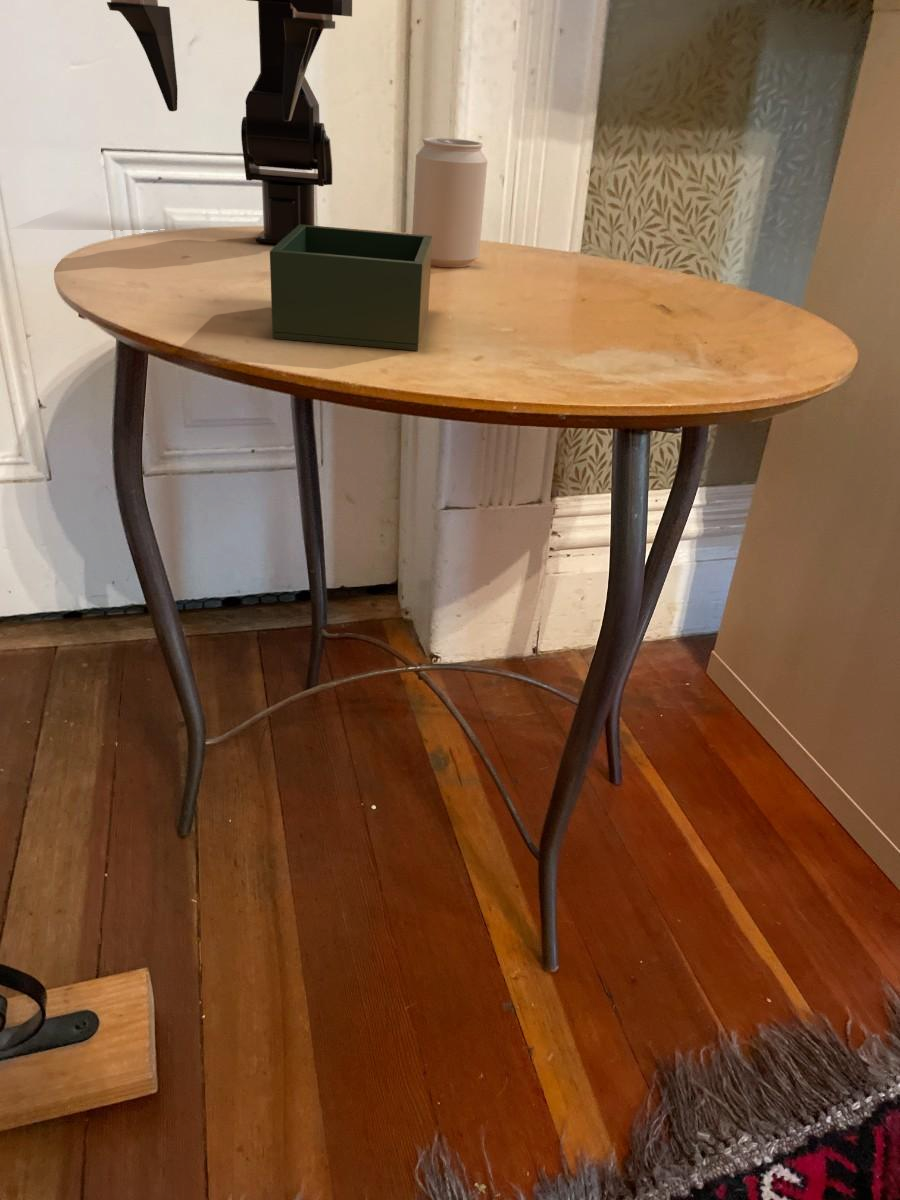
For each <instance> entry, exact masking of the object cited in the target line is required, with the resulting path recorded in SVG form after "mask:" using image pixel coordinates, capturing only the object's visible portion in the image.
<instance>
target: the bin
mask: <svg viewBox="0 0 900 1200" xmlns="http://www.w3.org/2000/svg"><path fill="white" fill-rule="evenodd" d="M432 237H433V236H428V235H416V234H412V233H404V232H393V231H392V232H391V231H382V230H381V231H380V230H368V229H359V228H358V229H357V228H345V227H333V226H323V225H315V226H312V225H300V224H299V225H298V226H297V227H296V228H295V229H294V230H293V231H291V232H290V233H289V234H288V235H287V236H286V237H285V238H284V239H283V240H281V241H280V242H279V243H278V244H276V245H275V246H274V247H272V248H271V250H269V267H270V268H269V269H270V270H269V271H270V273H269V274H270V275H269V276H270V300H271V301H270V302H271V304H270V305H271V327H272V328H271V329H272V332H271V333H272V339H274V340H275V339H276V340H289V341H299V342H309V343H311V342H313V343H321V344H333V345H347V346H356V347H369V348H379V349H380V348H381V349H391V350H393V349H394V350H404V351H412V352H413V351H415V352H418V351H419V347H420V344H421V341H422V337H423V334H424V329H425V326H426V322H427V318H428V315H429V306H430V305H429V304H430V303H429V302H430V289H431V288H430V287H431V286H430V285H431V272H432V271H431V269H432V265H431V254H432Z"/></svg>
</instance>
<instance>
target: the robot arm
mask: <svg viewBox="0 0 900 1200" xmlns="http://www.w3.org/2000/svg"><path fill="white" fill-rule="evenodd" d="M158 1H159V0H110V1H106V4H107V7H108V9H109V11H114V12H119V13H120V14H121V15H122V17H124V19H125V20H126V22H127V23H128V24H129V26H130V27H131V28H132V29H133V32H134V33H135V35H136V37H137V39H138V41H139V42H140V44H141V46H142V48H143V50H144V53H145V55H146V57H147V60H148V62H149V65H150V67H151V70H152V72H153V74H154V77H155V81H156V82H157V85H158V87H159V90H160V93H161V95H162V98H163V100H164V102H165V105H166V108H167V110H168V111H169V112H176V111H178V81H177V70H176V60H175V59H176V58H175V48H174V41H173V29H172V18H171V8H170V6H165V5H163V6H162V5H159V2H158ZM247 1H250V2H257V9H258V10H257V11H258V12H257V13H258V37H259V41H258V42H259V70H260V72H259V74H258V76H257V78H256V80H255V82H254V84H253V86H252V88H251V90H249V91H248V93H247V96H246V98H245V116H243V117H242V120H241V125H240V133H241V134H240V140H241V147H242V156H243V165H244V173H245V180H246V181H248V182H249V181H250V182H251V181H261V190H262V191H261V192H262V193H261V195H262V221H263V222H262V223H263V230H262V231H261V232H260V233H259V234H257V235H256V236H255V237H254V241H255V243H265V244H276V245H277V244H278V243H279V242H280V241H281V240H283V239H284V238H285V237H286V236H287V235H288V234H289V233H290V232H291V231H293V230H294V229H295V228H296V227H297V226H298V225H299V224H300V225H312V226H316V221H315V219H316V218H315V216H316V215H315V212H316V211H315V207H316V206H315V186H318V187H324V186H332V185H333V158H332V147H331V146H332V145H331V139H330V137H329V136H328V135H327V131H326V128H325V123H324V122H320V104H319V102H318V99H317V97H316V96H315V94H314V92H313V90H312V87H311V86H310V84H309V82H308V80H307V78H306V77H305V75H306V72H307V69H308V66H309V63H310V61H311V58H312V56H313V54H314V51H315V50H316V46H317V44H318V43H319V40H320V38H321V36H322V33H323V31H324V30H326V29H327V30H335V29H336V21H335V20H333V16H338V17H339V16H341V17H351V18H352V17H353V0H247ZM260 167H263V168H260ZM267 168H277V169H267ZM279 169H288V170H279ZM292 170H301V171H292ZM313 170H317V171H316V172H306V171H313ZM303 171H305V172H303Z"/></svg>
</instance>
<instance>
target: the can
mask: <svg viewBox="0 0 900 1200" xmlns="http://www.w3.org/2000/svg"><path fill="white" fill-rule="evenodd" d="M422 143H423V147H421V149H420V150H419V151H418V152H417V153H416V154H415V164H414V165H415V167H414V169H415V170H414V185H413V186H414V187H413V188H414V189H413V206H412V207H413V210H412V230H411V234H416V235H428V236H433V237H432V254H431V266H434V267H440V268H464V267H469V266H471V265H472V264H473V262H475V261H476V260H477V259H478V258H480V249H481V237H482V228H483V216H484V204H485V193H486V182H487V181H486V180H487V171H488V170H487V169H488V159H487V157H486V156H485V154H484V153H483V151H482V148H483V147H484V145H483V143H482V142H480V141H475V140H469V139H463V138H449V137H424V138H423V139H422Z"/></svg>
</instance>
